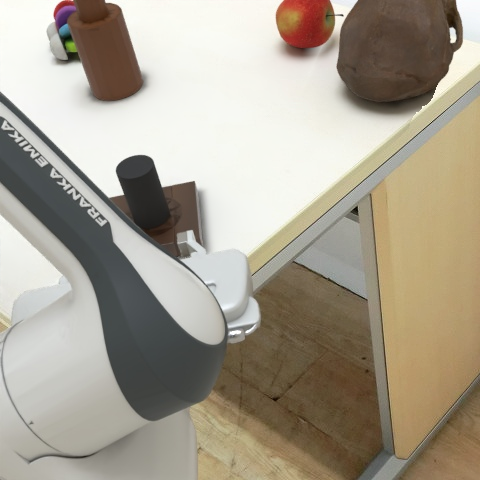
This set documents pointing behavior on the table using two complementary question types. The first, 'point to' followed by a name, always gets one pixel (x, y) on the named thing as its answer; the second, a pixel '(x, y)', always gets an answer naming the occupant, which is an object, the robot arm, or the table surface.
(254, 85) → the table surface
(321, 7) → the apple
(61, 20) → the rainbow disc toy
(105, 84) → the bottle
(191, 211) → the dark brown square mat
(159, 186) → the cylinder
